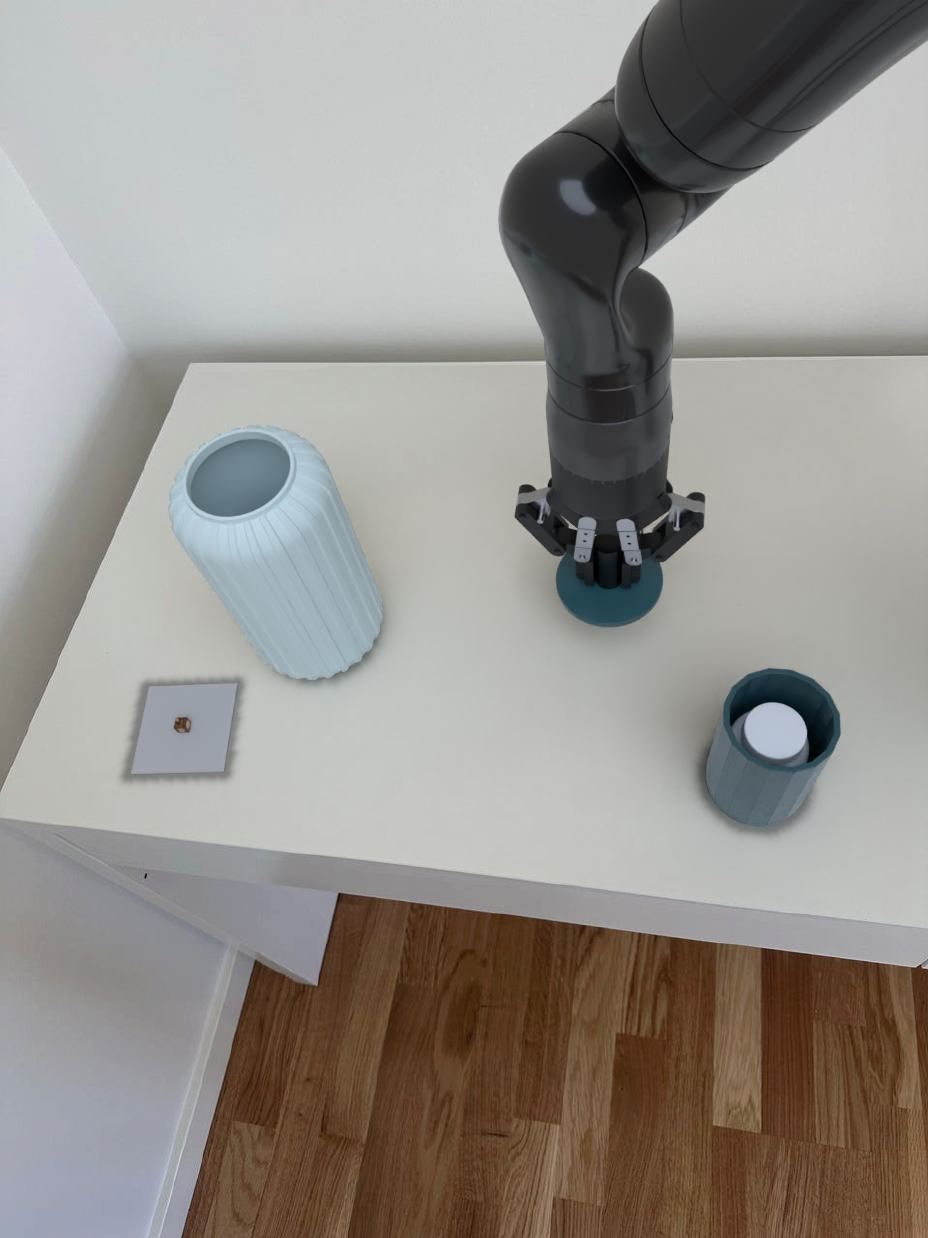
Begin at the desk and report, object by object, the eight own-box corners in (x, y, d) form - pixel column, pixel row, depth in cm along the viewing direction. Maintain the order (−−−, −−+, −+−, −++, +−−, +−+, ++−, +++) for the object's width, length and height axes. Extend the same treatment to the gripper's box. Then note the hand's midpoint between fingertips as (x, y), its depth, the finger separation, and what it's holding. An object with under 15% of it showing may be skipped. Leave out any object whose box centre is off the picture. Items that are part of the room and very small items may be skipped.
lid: (665, 544, 74) (669, 498, 68) (659, 635, 70) (663, 593, 64) (562, 539, 75) (558, 493, 70) (550, 627, 71) (545, 586, 66)
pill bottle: (701, 762, 69) (716, 710, 61) (764, 733, 70) (787, 677, 61) (741, 826, 67) (761, 781, 58) (805, 795, 67) (835, 746, 59)
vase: (321, 717, 76) (227, 575, 57) (234, 641, 81) (120, 486, 62) (416, 622, 79) (357, 458, 60) (327, 555, 84) (246, 382, 65)
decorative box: (223, 771, 75) (215, 763, 73) (130, 774, 76) (120, 766, 74) (237, 683, 79) (230, 673, 77) (149, 686, 80) (139, 676, 78)
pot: (804, 739, 70) (838, 672, 60) (806, 831, 66) (842, 777, 56) (706, 730, 71) (724, 664, 61) (704, 820, 68) (722, 766, 58)
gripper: (489, 473, 56) (514, 612, 71) (722, 483, 53) (698, 626, 68) (506, 381, 60) (527, 532, 75) (726, 386, 57) (702, 542, 72)
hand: (609, 576), depth 71 cm, fingers closed on lid
